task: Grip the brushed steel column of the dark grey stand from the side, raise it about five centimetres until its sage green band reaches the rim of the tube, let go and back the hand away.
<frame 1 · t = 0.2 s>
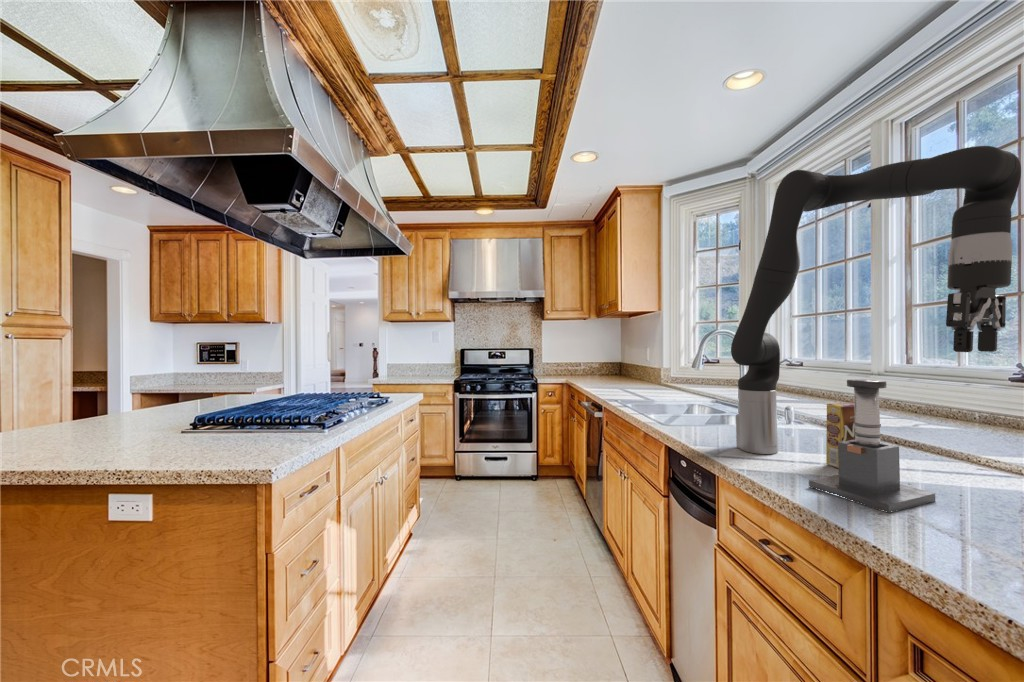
hand: (975, 351, 74), 29 cm above the countertop, tool pointing down, fingers open, 8 cm apart
candy box: (849, 467, 99), on the countertop
steel column: (867, 433, 82), point 12 cm above the countertop, slide at 0.0 cm
stand base: (868, 493, 82), on the countertop
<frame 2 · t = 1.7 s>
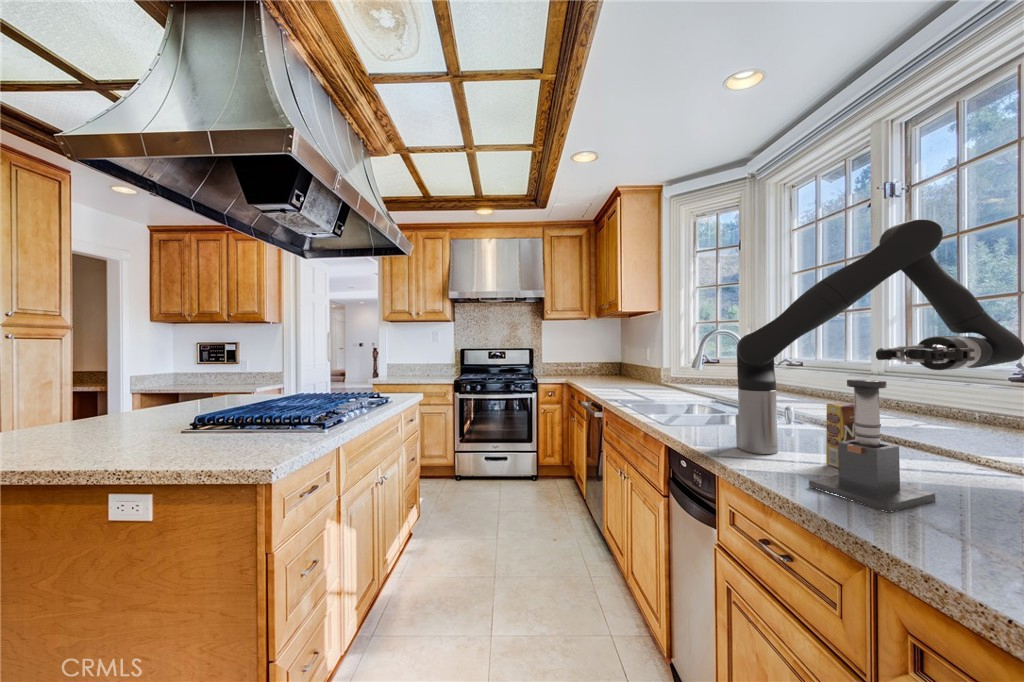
hand: (902, 355, 86), 28 cm above the countertop, tool horizontal, fingers open, 8 cm apart
nothing on the countertop moved.
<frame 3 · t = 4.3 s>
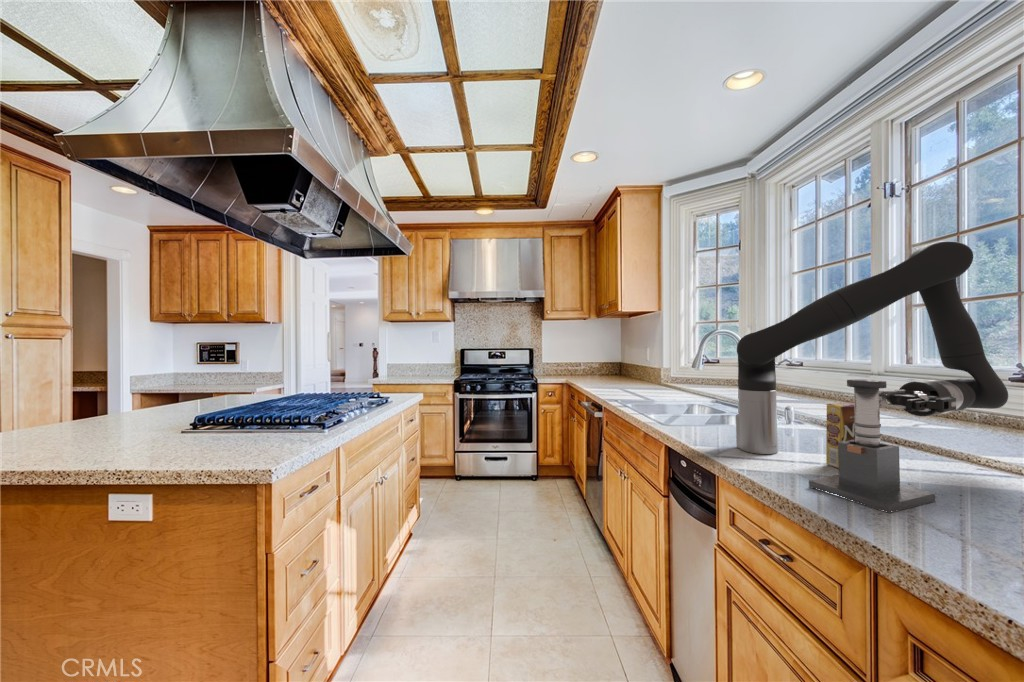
hand: (883, 402, 84), 18 cm above the countertop, tool horizontal, fingers open, 8 cm apart
nothing on the countertop moved.
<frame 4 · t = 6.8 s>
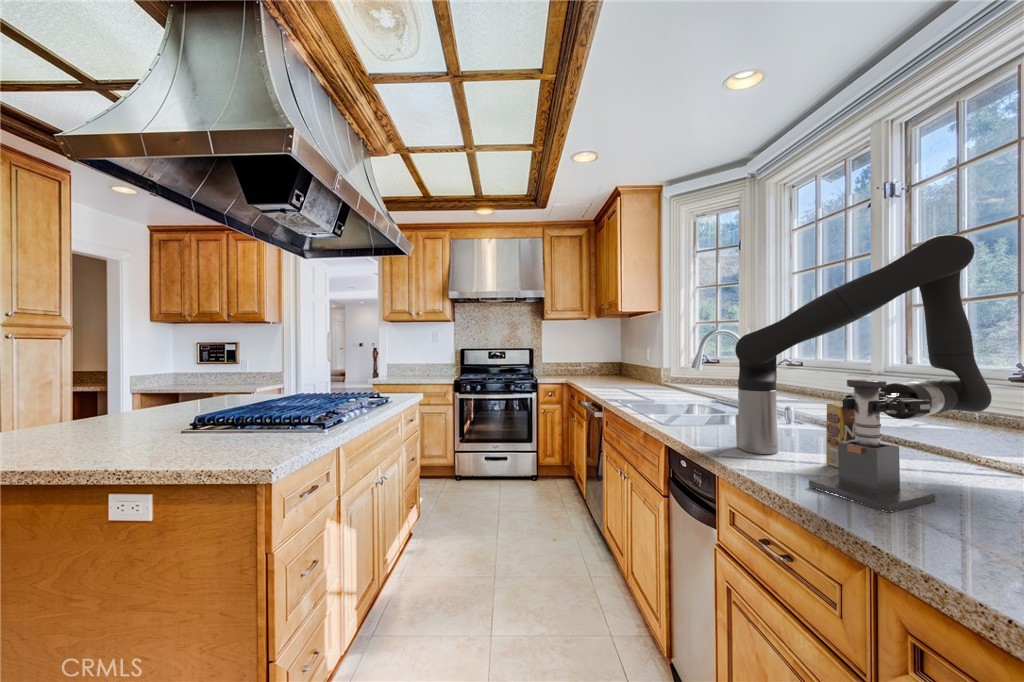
hand: (857, 405, 81), 18 cm above the countertop, tool horizontal, fingers closed on steel column, 3 cm apart
steel column: (867, 433, 82), point 12 cm above the countertop, slide at 0.0 cm, touching gripper
everything else where it was.
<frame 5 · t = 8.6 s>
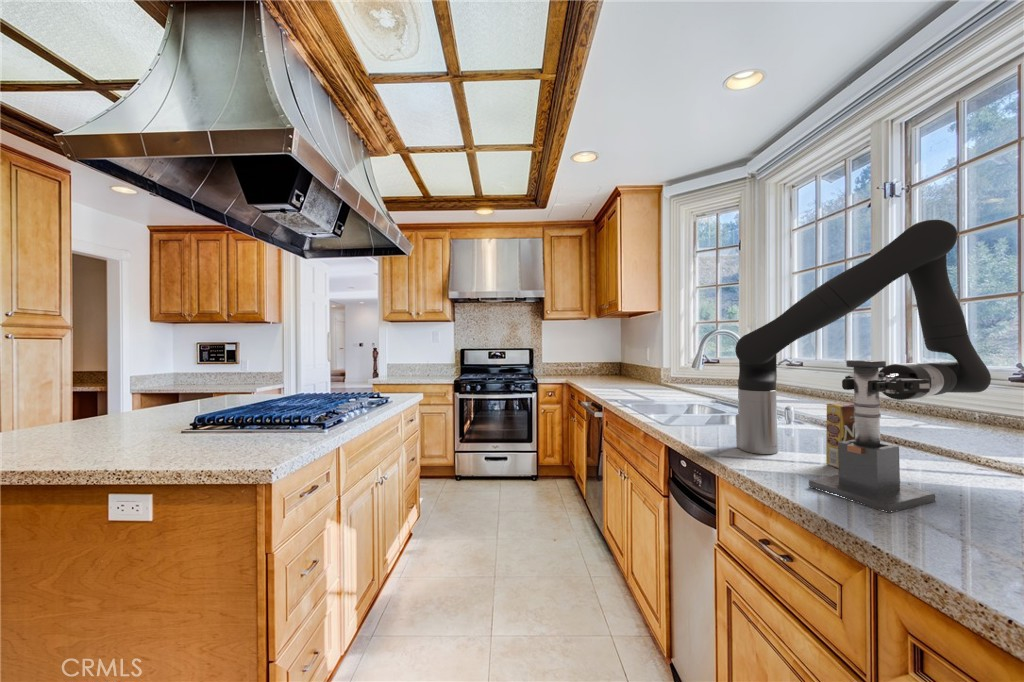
hand: (857, 385, 81), 22 cm above the countertop, tool horizontal, fingers closed on steel column, 3 cm apart
steel column: (866, 413, 82), point 16 cm above the countertop, slide at 4.0 cm, touching gripper
everything else where it was.
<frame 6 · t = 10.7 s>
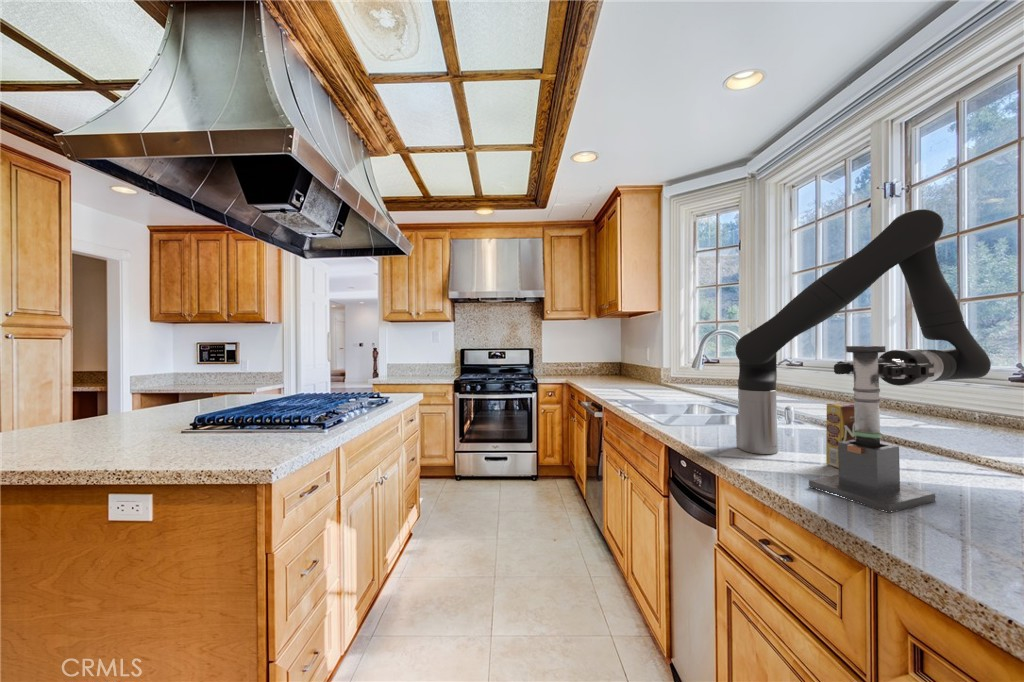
hand: (859, 370, 81), 25 cm above the countertop, tool horizontal, fingers open, 8 cm apart
steel column: (866, 398, 82), point 19 cm above the countertop, slide at 7.0 cm
everything else where it was.
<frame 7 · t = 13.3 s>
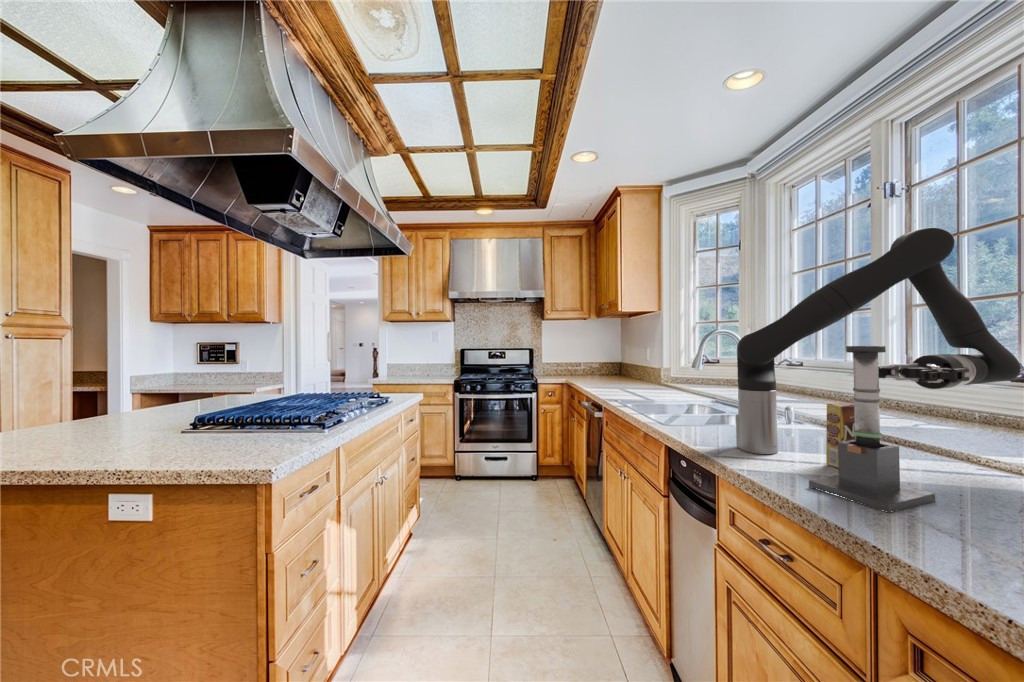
hand: (896, 374, 85), 24 cm above the countertop, tool horizontal, fingers open, 8 cm apart
nothing on the countertop moved.
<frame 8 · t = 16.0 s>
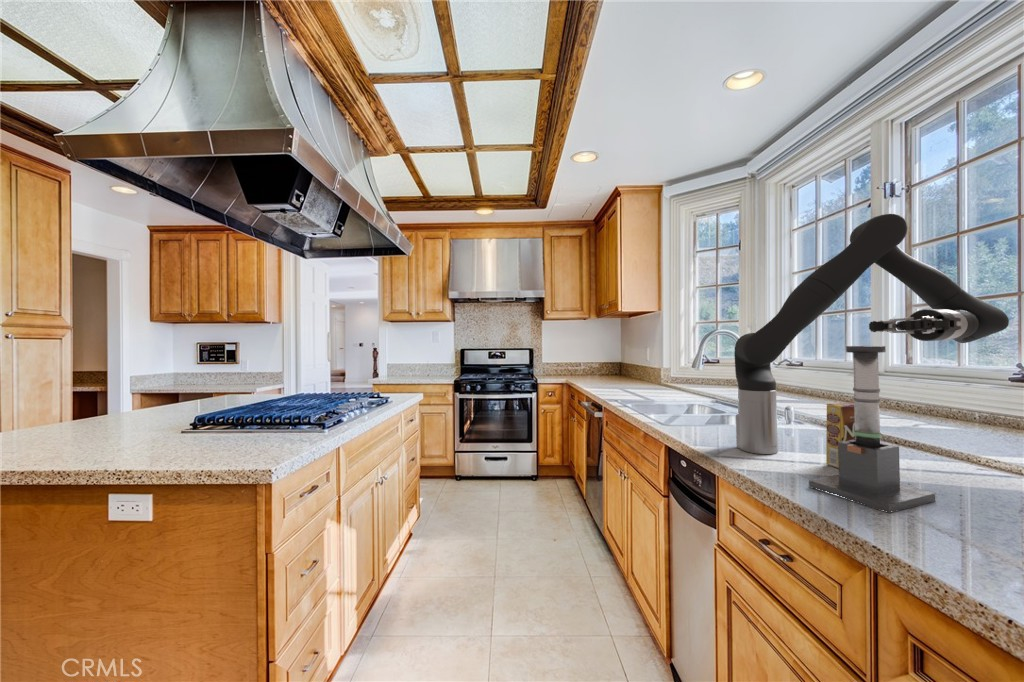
hand: (893, 325, 91), 34 cm above the countertop, tool horizontal, fingers open, 8 cm apart
nothing on the countertop moved.
at the end: steel column slide at 7.0 cm; the gripper is holding nothing; candy box moved 0.2 cm from its start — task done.
